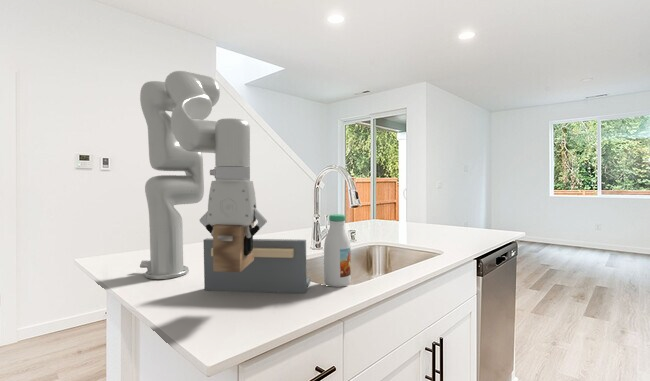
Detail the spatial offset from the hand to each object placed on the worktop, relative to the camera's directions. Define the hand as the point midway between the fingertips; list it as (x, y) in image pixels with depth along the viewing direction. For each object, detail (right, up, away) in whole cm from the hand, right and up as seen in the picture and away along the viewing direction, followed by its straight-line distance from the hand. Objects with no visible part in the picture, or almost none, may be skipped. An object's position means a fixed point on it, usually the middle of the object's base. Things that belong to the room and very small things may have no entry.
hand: (233, 252), depth 77 cm
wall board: (+2, -13, +18) cm, 22 cm away
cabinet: (0, -3, 0) cm, 3 cm away
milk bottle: (+25, -13, +21) cm, 35 cm away
